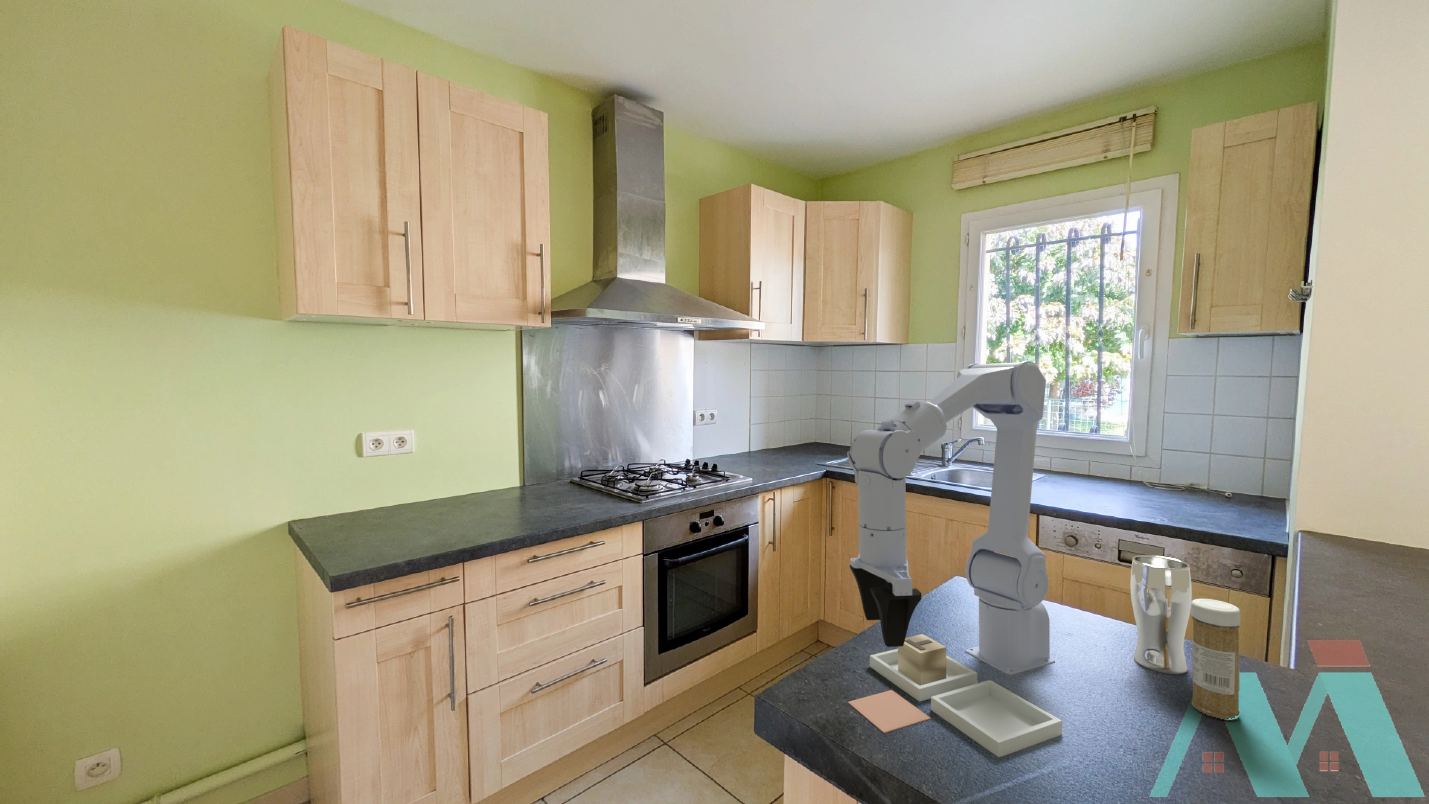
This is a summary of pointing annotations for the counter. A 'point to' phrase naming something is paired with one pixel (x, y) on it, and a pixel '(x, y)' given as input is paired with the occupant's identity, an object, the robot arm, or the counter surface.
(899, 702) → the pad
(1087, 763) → the counter surface
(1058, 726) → the bin near camera
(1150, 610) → the beer glass
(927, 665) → the letter cube
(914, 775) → the counter surface
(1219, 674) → the sprinkles bottle
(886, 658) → the bin near arm
